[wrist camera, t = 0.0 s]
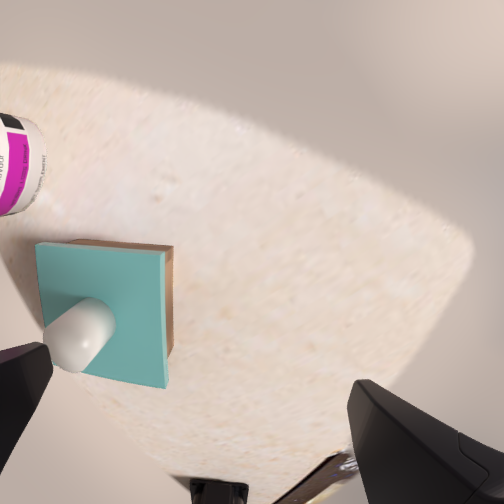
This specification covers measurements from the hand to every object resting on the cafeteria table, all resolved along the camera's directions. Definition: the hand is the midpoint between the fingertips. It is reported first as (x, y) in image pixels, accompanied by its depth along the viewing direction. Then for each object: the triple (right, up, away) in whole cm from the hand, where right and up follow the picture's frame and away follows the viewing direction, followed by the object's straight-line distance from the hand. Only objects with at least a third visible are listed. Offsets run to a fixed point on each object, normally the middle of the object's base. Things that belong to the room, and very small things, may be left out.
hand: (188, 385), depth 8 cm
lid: (-8, 0, +12) cm, 14 cm away
